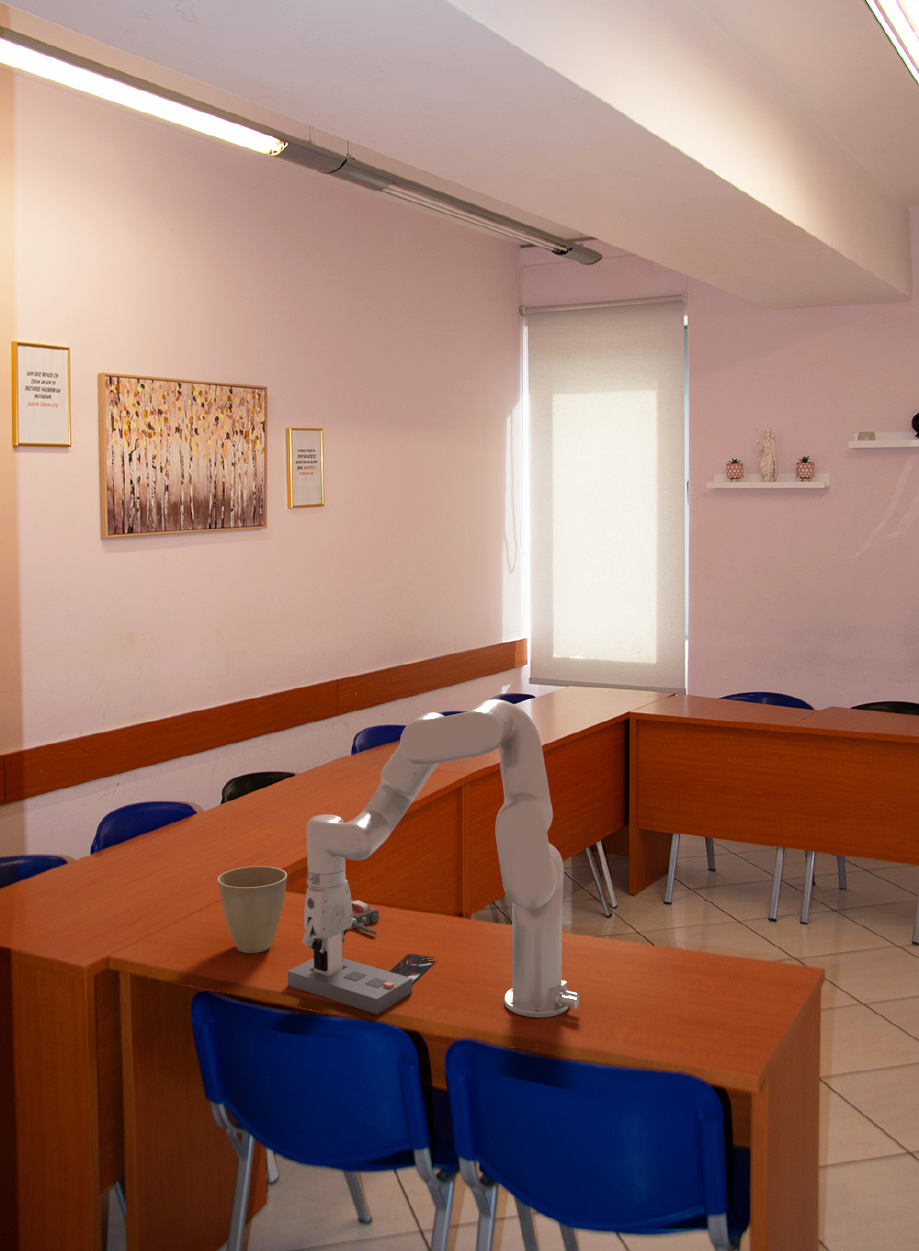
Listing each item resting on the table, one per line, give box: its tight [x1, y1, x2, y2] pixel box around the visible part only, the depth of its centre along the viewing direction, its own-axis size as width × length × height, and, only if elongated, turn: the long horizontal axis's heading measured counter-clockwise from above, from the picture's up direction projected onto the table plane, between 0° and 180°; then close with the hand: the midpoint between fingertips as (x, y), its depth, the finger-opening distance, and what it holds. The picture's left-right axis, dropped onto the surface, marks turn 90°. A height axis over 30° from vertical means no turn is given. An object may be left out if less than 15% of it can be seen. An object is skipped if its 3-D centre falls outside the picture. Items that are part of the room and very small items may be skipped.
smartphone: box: [388, 953, 437, 986], centre depth 218 cm, size 7×1×15 cm
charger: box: [314, 932, 343, 976], centre depth 212 cm, size 4×4×9 cm
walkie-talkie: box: [347, 899, 380, 935], centre depth 245 cm, size 9×4×20 cm
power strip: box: [287, 957, 413, 1015], centre depth 209 cm, size 23×11×4 cm, turn 56°
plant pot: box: [217, 865, 288, 954], centre depth 230 cm, size 15×15×16 cm
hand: (328, 964), depth 212 cm, fingers closed on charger, 3 cm apart
